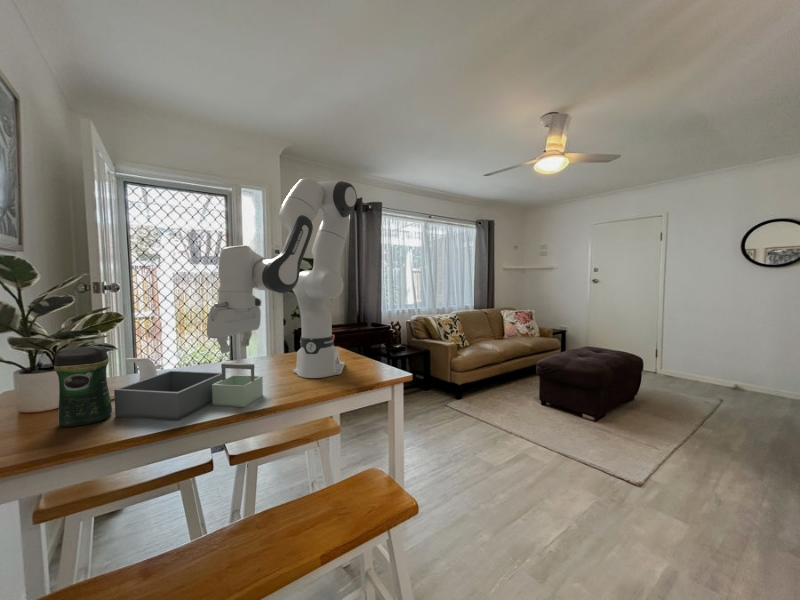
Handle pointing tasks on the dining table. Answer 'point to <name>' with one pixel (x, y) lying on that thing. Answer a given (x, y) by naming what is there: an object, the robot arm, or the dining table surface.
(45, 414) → the dining table surface
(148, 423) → the dining table surface
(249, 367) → the box
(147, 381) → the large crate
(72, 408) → the coffee jar
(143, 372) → the white curved piece
